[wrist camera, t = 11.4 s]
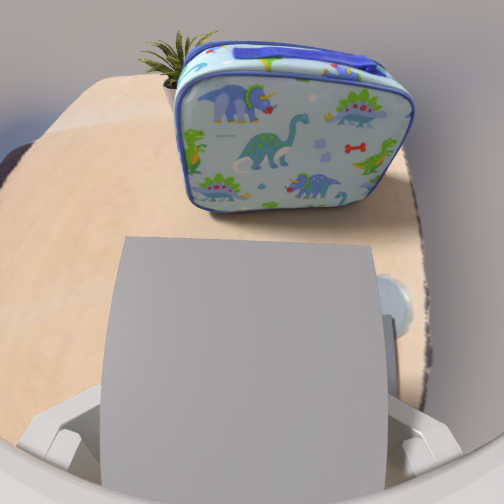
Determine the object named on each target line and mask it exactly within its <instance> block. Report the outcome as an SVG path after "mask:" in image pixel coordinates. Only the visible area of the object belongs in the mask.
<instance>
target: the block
mask: <svg viewBox="0 0 504 504" xmlns="http://www.w3.org/2000/svg"><path fill="white" fill-rule="evenodd" d="M387 442H388V387H387V366H386V352H385V340H384V330H383V321H382V313H381V305H380V298H379V291H378V285H377V278H376V272H375V267H374V261H373V256H372V251H371V246H356V245H336V244H316V243H294V242H271V241H246V240H220V239H192V238H161V237H126V238H125V242H124V246H123V250H122V254H121V259H120V263H119V268H118V272H117V277H116V282H115V287H114V292H113V297H112V303H111V309H110V315H109V321H108V328H107V335H106V343H105V351H104V360H103V370H102V383H101V399H100V466H101V481H102V487H104V488H108V489H111V490H114V491H117V492H121V493H125V494H128V495H132V496H136V497H140V498H145V499H149V500H154V501H159V502H165V503H170V504H327V503H332V502H338V501H343V500H348V499H352V498H357V497H361V496H365V495H369V494H373V493H376V492H380V491H383V490H384V484H385V474H386V461H387Z"/></svg>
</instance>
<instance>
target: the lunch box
mask: <svg viewBox="0 0 504 504" xmlns="http://www.w3.org/2000/svg"><path fill="white" fill-rule="evenodd" d="M415 112H416V107H415V102H414V100H413V98H412V96H411V95H410V94H409V93H408V92H407V90H406V89H405V88H403V87H402V86H401V85H400V84H399V83H398V82H397V81H396V80H394V79H393V78H392V77H391V75H390V74H389V73H388V72H387V70H386V69H385V68H384V67H383V66H382V65H381V64H379V63H378V62H376V61H373V60H371V59H368V58H367V57H366V56H364V55H353V54H348V53H343V52H337V51H332V50H326V49H321V48H315V47H309V46H302V45H295V44H285V43H276V42H259V41H219V42H210V43H205V44H202V45H199V46H197V47H195V48H194V49H192V50H191V51H190V52H189V53H188V55H187V56H186V58H185V61H184V64H183V69H182V73H181V75H180V77H179V79H178V84H177V90H176V94H175V101H174V108H173V116H174V128H175V135H176V141H177V148H178V154H179V159H180V165H181V171H182V177H183V181H184V186H185V190H186V194H187V196H188V198H189V200H190V201H191V203H192V204H194V205H195V206H196V207H198V208H201V209H203V210H206V211H211V212H216V213H235V212H245V211H256V210H268V209H283V208H290V209H294V208H305V207H337V206H343V205H348V204H351V203H355V202H357V201H360V200H362V199H364V198H366V197H367V196H368V195H369V194H371V192H372V191H373V190H374V189H375V188H376V186H377V185H378V184H379V182H380V181H381V179H382V178H383V176H384V174H385V172H386V171H387V169H388V167H389V166H390V164H391V162H392V160H393V159H394V157H395V156H396V154H397V152H398V151H399V149H400V148H401V146H402V144H403V142H404V140H405V138H406V137H407V135H408V132H409V130H410V128H411V126H412V123H413V120H414V117H415Z"/></svg>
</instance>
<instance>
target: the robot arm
mask: <svg viewBox="0 0 504 504" xmlns="http://www.w3.org/2000/svg"><path fill="white" fill-rule="evenodd" d="M100 399H101V385H95V386H93V387H91V388H89V389H87V390H85V391H83V392H81V393H79V394H77V395H75V396H73V397H71V398H69V399H67V400H65V401H63V402H61V403H59V404H57V405H55V406H53V407H51V408H49V409H47V410H45V411H43V412H41V413H39V414H37V415H35V417H34V418H33V420H32V421H31V423H30V424H29V426H28V428H27V429H26V431H25V432H24V434H23V436H22V437H21V439H20V441H19V442H18V444H17V446H14V445H13V444H11V443H9V442H8V441H6V440H4V439H3V438H1V437H0V504H170V503H165V502H159V501H154V500H149V499H145V498H140V497H136V496H132V495H128V494H125V493H121V492H117V491H114V490H111V489H108V488H104V487H102V481H101V466H100ZM327 504H504V433H502V434H501V435H499V436H498V437H497V438H495V439H493V440H491V441H490V442H488V443H486V444H485V445H483V446H481V447H480V448H478V449H476V450H474V451H472V452H471V453H469V454H467V455H464V453H463V451H462V449H461V448H460V446H459V444H458V443H457V441H456V440H455V438H454V436H453V435H452V433H451V432H450V430H449V429H448V427H447V425H445V424H443V423H441V422H439V421H437V420H436V419H434V418H432V417H430V416H428V415H426V414H424V413H422V412H421V411H419V410H417V409H415V408H413V407H411V406H410V405H408V404H406V403H404V402H402V401H401V400H399V399H397V398H395V397H394V396H392V395H390V394H388V442H387V461H386V474H385V484H384V490H383V491H380V492H376V493H373V494H369V495H365V496H361V497H357V498H352V499H348V500H343V501H338V502H332V503H327Z"/></svg>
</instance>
